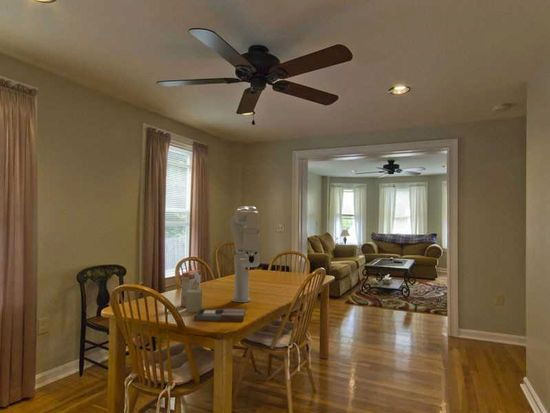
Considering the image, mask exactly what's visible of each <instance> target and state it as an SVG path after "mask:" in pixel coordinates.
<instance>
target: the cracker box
mask: <svg viewBox="0 0 550 413" xmlns="http://www.w3.org/2000/svg"><path fill="white" fill-rule="evenodd" d="M201 275H202V270H198V269H193V270H188V271H184V272H182V274H181V292H180V294H181V295H180V296H181V297H180V307H184V308H186V306H187V290H191V289H200V290H201V280H202V279H201V277H202V276H201Z"/></svg>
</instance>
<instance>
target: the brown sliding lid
mask: <svg viewBox="0 0 550 413" xmlns="http://www.w3.org/2000/svg"><path fill="white" fill-rule="evenodd" d="M223 309H224V311H223V312H222V314H221V321H220V322H244V320H245V315H246V308H227V307H226V308H223Z"/></svg>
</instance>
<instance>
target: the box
mask: <svg viewBox="0 0 550 413" xmlns="http://www.w3.org/2000/svg"><path fill="white" fill-rule="evenodd" d="M224 309H225V308H223V309H222V308H220V309H219V308H202V309H199V311H198V312H195V314H194V317H193V321H195V322H196V321H197V322H198V321H199V322H201V321H202V322H203V321H204V322H205V321H208V322H211V321H212V322H222V321H221V314H222V312H223V311H224ZM205 310H216V315H215V316H203V312H204V311H205Z"/></svg>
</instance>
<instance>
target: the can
mask: <svg viewBox="0 0 550 413" xmlns="http://www.w3.org/2000/svg"><path fill="white" fill-rule="evenodd" d="M202 306H203V290H202V289H201V288H200V289H191V290H187V306H186V307H185V308H186V309H185V311H186V312H188V313H197V312H198V311H199V309H203V307H202Z"/></svg>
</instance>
